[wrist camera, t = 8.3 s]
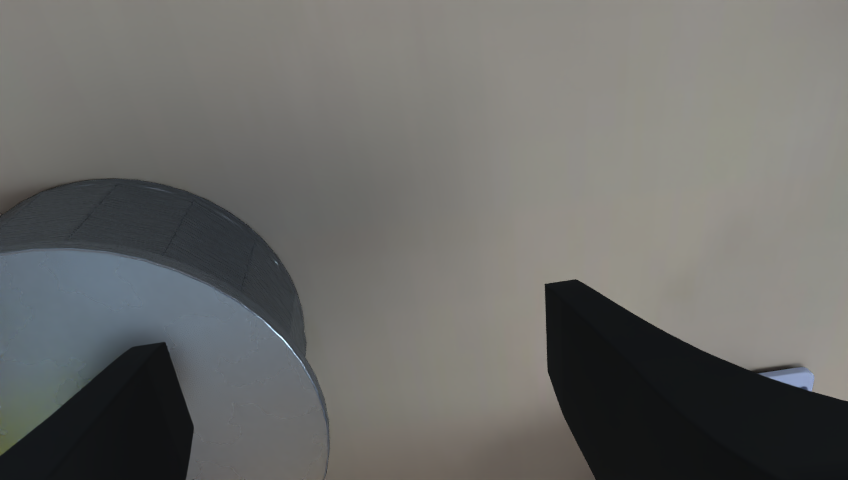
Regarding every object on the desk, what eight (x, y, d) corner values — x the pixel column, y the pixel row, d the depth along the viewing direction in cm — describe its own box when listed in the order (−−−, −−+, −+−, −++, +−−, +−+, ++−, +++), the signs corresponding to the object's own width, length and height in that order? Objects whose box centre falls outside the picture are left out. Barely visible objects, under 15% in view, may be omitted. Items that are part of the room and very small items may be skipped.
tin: (327, 431, 26) (324, 547, 21) (31, 477, 25) (-44, 607, 21) (270, 156, 21) (247, 224, 16) (-101, 203, 20) (-243, 289, 15)
